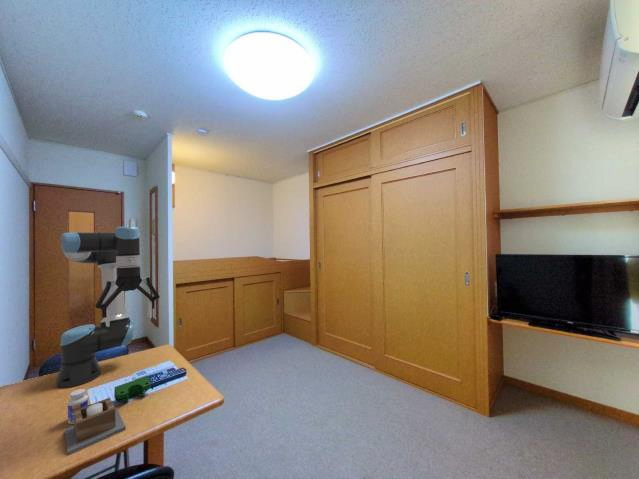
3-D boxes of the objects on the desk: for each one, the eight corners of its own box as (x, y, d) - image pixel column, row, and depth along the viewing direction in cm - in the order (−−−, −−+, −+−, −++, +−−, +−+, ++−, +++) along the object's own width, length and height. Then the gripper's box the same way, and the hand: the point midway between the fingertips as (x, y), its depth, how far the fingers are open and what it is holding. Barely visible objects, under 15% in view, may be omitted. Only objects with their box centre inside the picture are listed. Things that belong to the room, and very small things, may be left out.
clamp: (123, 414, 103) (112, 400, 99) (119, 404, 107) (109, 390, 103) (156, 391, 111) (147, 376, 107) (151, 382, 114) (142, 368, 110)
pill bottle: (71, 426, 90) (70, 398, 90) (65, 421, 93) (64, 393, 93) (91, 417, 95) (90, 390, 95) (85, 412, 98) (84, 386, 98)
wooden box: (74, 428, 88) (73, 410, 88) (110, 414, 95) (109, 397, 95) (77, 443, 82) (76, 423, 82) (115, 426, 89) (115, 408, 89)
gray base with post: (64, 431, 88) (64, 407, 88) (117, 411, 98) (116, 389, 98) (67, 455, 78) (67, 428, 78) (125, 429, 89) (124, 405, 89)
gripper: (87, 270, 91) (88, 332, 91) (167, 264, 109) (168, 315, 109) (84, 269, 96) (86, 327, 96) (161, 263, 114) (162, 312, 115)
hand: (129, 321), depth 103 cm, fingers open, 13 cm apart
